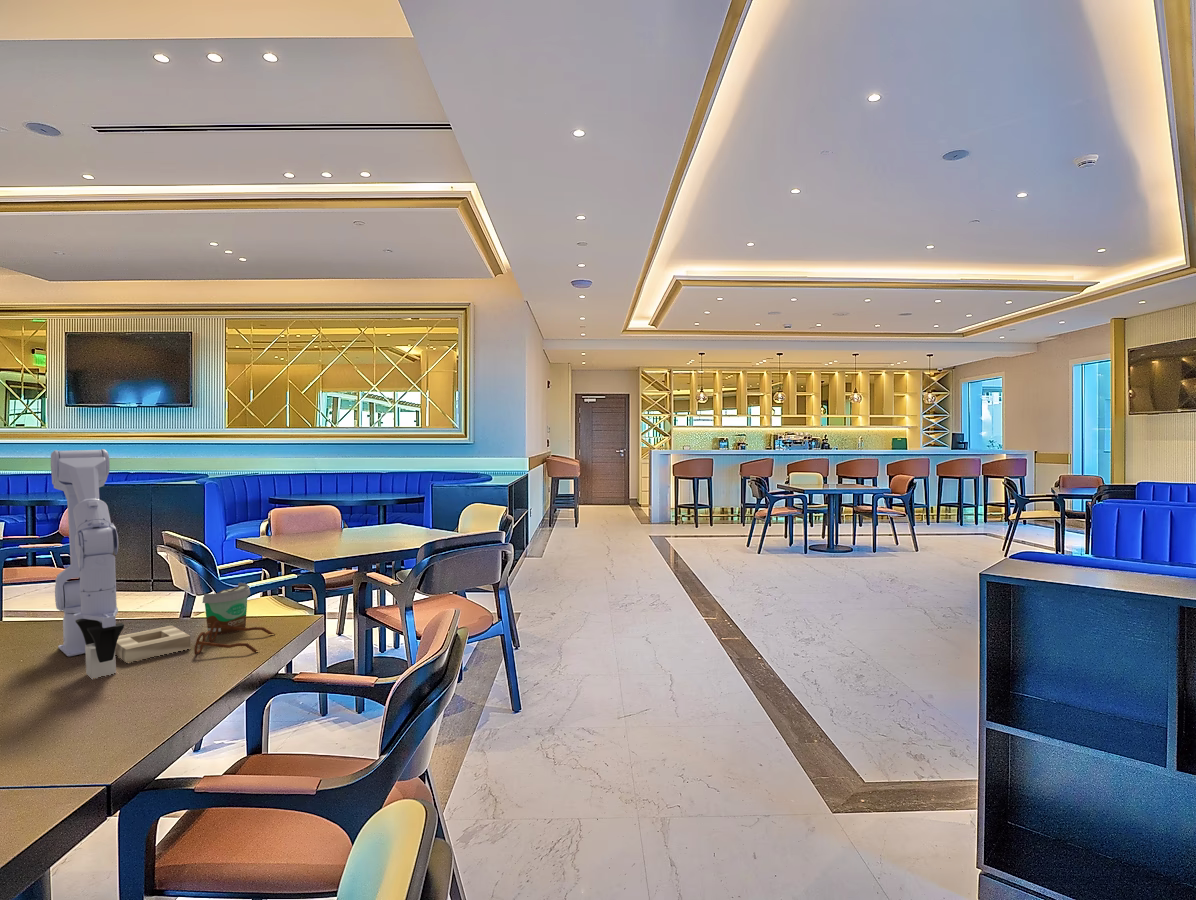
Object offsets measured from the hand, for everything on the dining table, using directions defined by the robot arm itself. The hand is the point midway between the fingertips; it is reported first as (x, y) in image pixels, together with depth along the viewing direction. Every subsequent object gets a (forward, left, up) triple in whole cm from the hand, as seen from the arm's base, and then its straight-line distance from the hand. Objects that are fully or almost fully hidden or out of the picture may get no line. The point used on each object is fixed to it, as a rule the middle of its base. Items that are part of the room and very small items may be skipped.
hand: (100, 656), depth 134 cm
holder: (-9, +11, -4) cm, 15 cm away
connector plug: (0, 0, -4) cm, 4 cm away
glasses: (+2, +25, -4) cm, 25 cm away
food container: (-11, +29, -4) cm, 31 cm away
